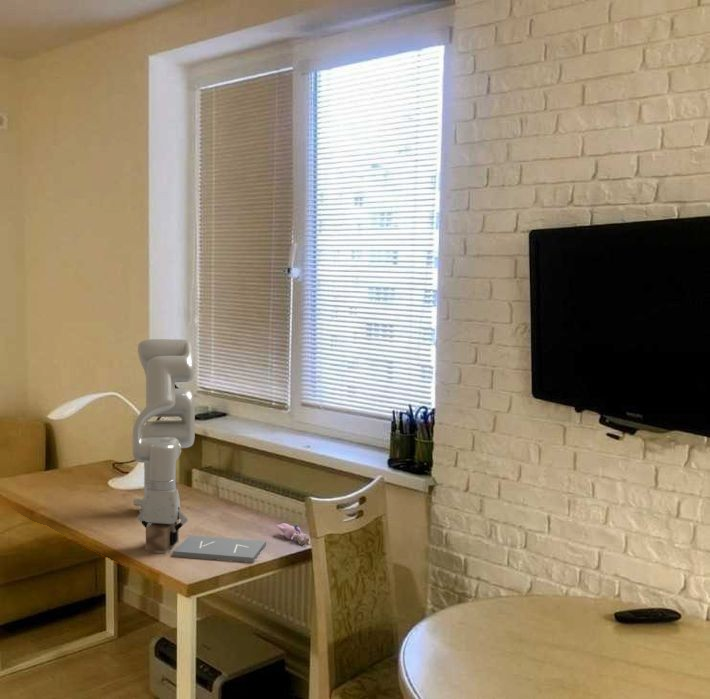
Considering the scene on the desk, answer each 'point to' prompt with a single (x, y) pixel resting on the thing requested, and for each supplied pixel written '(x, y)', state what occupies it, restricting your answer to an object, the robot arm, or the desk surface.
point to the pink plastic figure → (293, 533)
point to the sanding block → (159, 538)
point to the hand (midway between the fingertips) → (162, 542)
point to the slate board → (219, 548)
